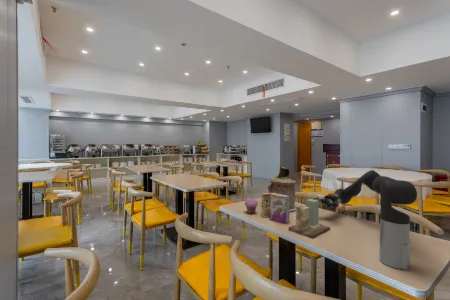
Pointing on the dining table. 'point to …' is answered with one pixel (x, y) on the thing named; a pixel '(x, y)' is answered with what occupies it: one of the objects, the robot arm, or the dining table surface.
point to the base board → (311, 231)
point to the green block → (313, 211)
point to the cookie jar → (284, 186)
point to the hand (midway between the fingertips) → (320, 204)
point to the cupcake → (251, 205)
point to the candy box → (266, 204)
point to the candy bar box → (279, 208)
